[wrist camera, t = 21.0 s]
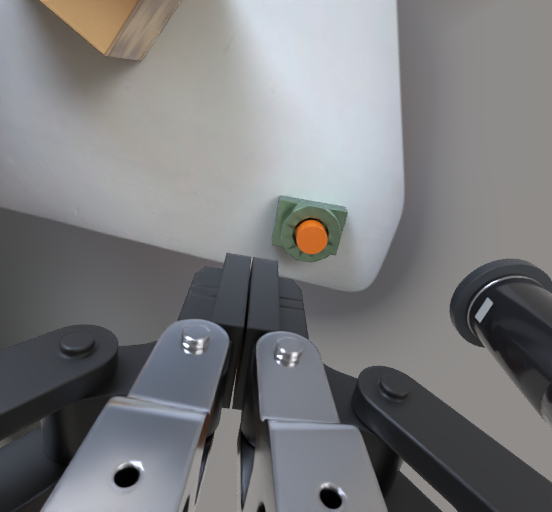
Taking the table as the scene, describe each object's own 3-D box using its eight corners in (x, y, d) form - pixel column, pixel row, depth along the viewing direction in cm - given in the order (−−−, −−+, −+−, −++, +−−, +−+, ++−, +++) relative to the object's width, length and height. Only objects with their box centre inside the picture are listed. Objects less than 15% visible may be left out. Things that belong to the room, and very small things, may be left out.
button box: (345, 202, 40) (352, 213, 37) (332, 252, 43) (337, 266, 40) (280, 191, 40) (281, 200, 37) (270, 242, 42) (270, 256, 39)
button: (328, 222, 38) (331, 228, 36) (321, 249, 39) (323, 256, 38) (298, 217, 38) (300, 223, 36) (292, 244, 39) (293, 251, 37)
